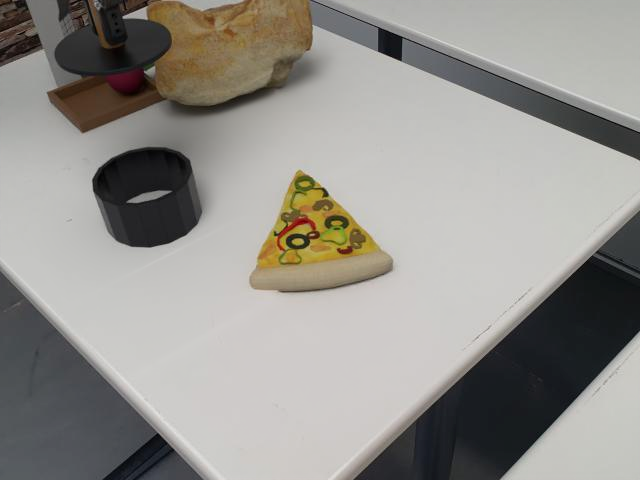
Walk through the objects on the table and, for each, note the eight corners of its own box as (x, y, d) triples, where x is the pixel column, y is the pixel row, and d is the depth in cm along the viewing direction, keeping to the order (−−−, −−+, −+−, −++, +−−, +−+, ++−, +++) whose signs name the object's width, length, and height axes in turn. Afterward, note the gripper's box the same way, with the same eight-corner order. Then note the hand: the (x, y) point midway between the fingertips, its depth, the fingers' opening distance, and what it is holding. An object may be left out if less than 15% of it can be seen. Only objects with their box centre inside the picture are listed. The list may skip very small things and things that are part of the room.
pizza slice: (252, 301, 73) (248, 281, 71) (239, 185, 87) (236, 165, 84) (396, 281, 74) (397, 260, 72) (361, 169, 88) (360, 149, 85)
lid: (88, 95, 67) (66, 28, 63) (38, 53, 74) (15, -10, 69) (195, 53, 72) (181, -12, 67) (139, 18, 79) (123, -44, 74)
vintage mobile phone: (88, 90, 105) (27, -94, 87) (58, 89, 106) (-10, -94, 87) (97, 78, 108) (40, -104, 89) (68, 77, 108) (5, -103, 90)
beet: (103, 71, 97) (171, 28, 98) (92, 61, 101) (158, 20, 102) (124, 105, 101) (189, 64, 102) (113, 95, 105) (176, 55, 106)
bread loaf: (283, 56, 113) (275, -46, 103) (324, 89, 101) (319, -22, 91) (141, 82, 106) (119, -24, 96) (167, 121, 94) (145, 4, 85)
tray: (83, 137, 96) (79, 123, 95) (51, 105, 103) (46, 92, 101) (169, 102, 102) (165, 88, 100) (132, 73, 108) (129, 60, 106)
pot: (135, 264, 78) (119, 219, 73) (93, 217, 84) (75, 172, 79) (219, 222, 82) (210, 176, 77) (173, 180, 88) (161, 135, 83)
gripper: (-18, -164, 62) (50, 28, 74) (44, -135, 54) (108, 74, 67) (60, -181, 64) (113, 6, 77) (130, -157, 57) (176, 47, 70)
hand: (111, 37), depth 72 cm, fingers closed on lid, 2 cm apart
